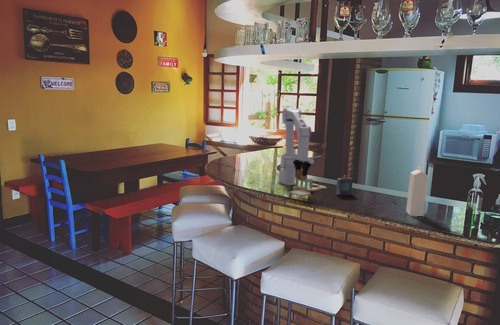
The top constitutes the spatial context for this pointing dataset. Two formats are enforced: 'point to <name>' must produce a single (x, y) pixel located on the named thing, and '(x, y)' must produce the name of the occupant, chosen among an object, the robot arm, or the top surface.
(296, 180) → the cover
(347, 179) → the flask
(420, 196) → the milk
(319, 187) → the board
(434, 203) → the top surface
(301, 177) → the block
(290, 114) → the robot arm
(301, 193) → the pad
